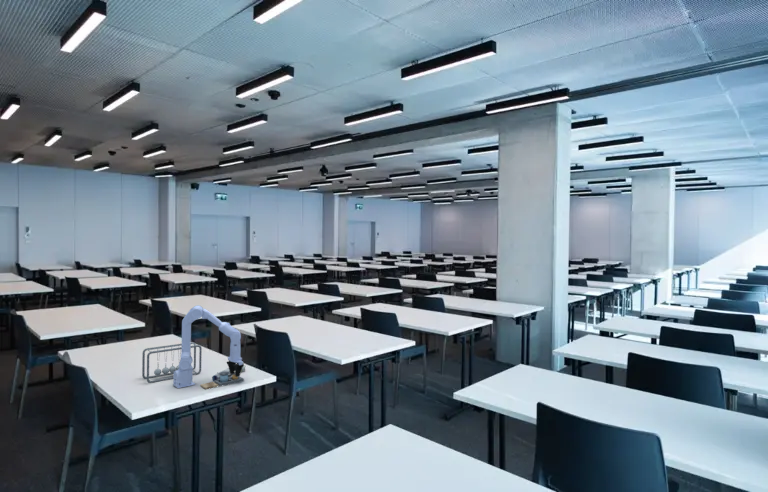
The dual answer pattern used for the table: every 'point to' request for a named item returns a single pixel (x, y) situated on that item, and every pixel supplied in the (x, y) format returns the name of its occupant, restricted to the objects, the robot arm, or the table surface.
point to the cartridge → (224, 377)
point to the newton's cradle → (166, 370)
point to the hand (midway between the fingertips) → (234, 374)
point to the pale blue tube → (217, 376)
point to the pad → (208, 385)
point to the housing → (229, 381)
